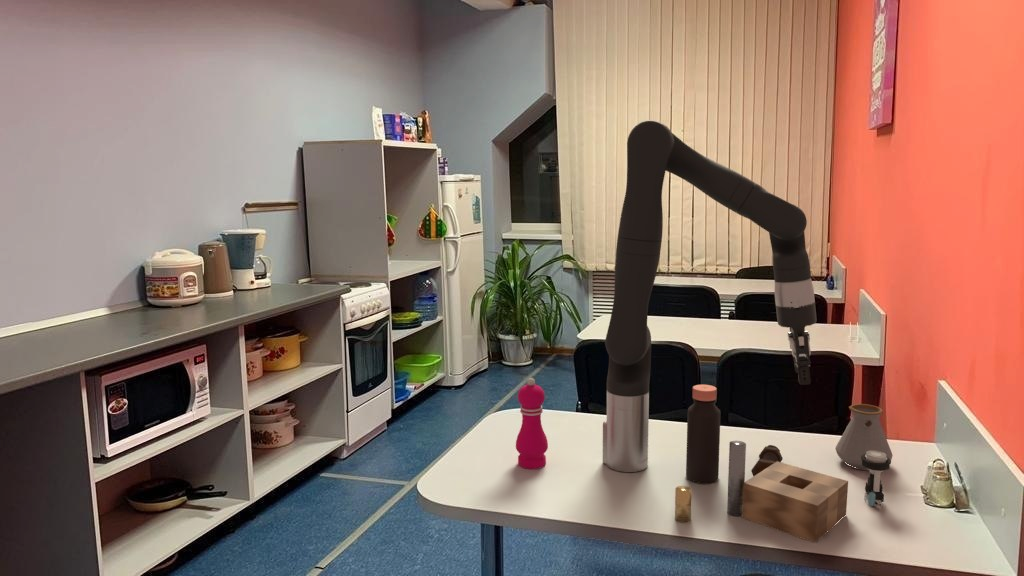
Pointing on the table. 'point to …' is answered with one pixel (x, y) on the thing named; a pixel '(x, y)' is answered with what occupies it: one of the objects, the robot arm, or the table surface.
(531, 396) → the pepper mill
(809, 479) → the hole block
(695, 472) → the bottle
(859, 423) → the coffee pot
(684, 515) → the short pin
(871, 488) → the push button
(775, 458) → the bolt
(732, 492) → the long pin
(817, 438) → the table surface
